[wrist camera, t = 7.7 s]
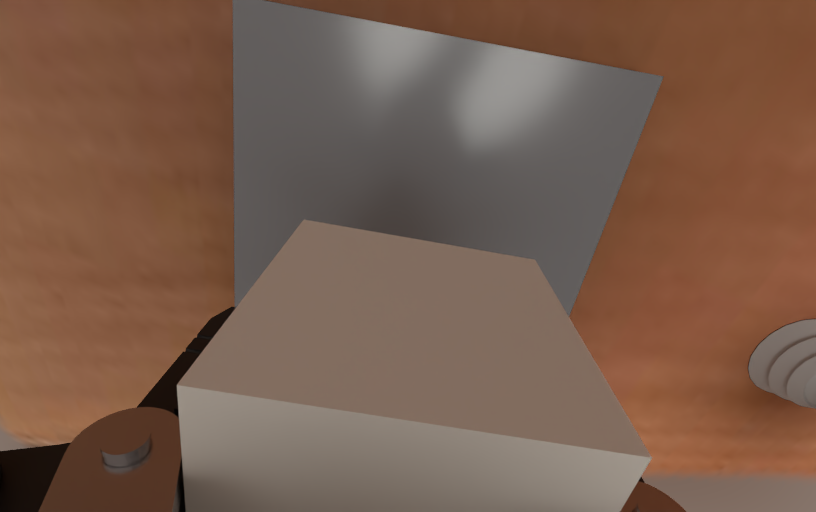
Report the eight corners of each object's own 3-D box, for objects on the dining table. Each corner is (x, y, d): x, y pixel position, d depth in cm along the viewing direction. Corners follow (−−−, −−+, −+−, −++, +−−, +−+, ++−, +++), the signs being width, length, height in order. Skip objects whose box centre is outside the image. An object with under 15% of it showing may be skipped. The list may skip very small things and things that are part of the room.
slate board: (638, 75, 17) (663, 76, 16) (538, 346, 23) (547, 370, 21) (253, 2, 17) (232, -6, 15) (250, 298, 23) (234, 319, 21)
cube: (534, 259, 9) (651, 458, 4) (478, 428, 11) (519, 681, 6) (303, 219, 9) (176, 385, 4) (289, 399, 11) (194, 640, 6)
